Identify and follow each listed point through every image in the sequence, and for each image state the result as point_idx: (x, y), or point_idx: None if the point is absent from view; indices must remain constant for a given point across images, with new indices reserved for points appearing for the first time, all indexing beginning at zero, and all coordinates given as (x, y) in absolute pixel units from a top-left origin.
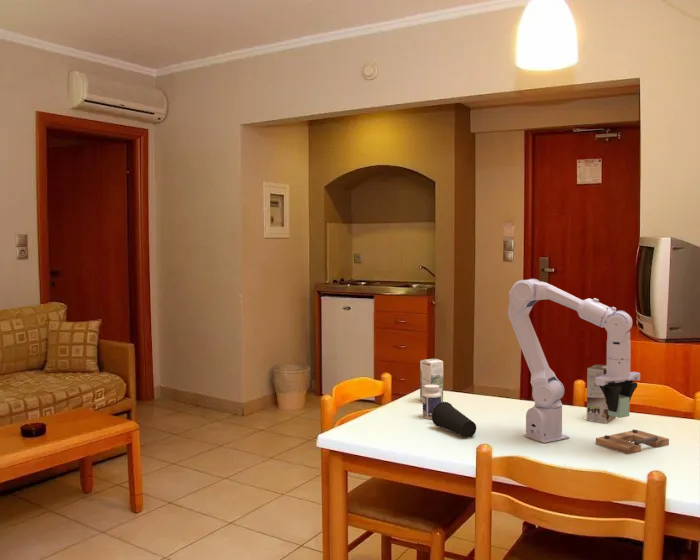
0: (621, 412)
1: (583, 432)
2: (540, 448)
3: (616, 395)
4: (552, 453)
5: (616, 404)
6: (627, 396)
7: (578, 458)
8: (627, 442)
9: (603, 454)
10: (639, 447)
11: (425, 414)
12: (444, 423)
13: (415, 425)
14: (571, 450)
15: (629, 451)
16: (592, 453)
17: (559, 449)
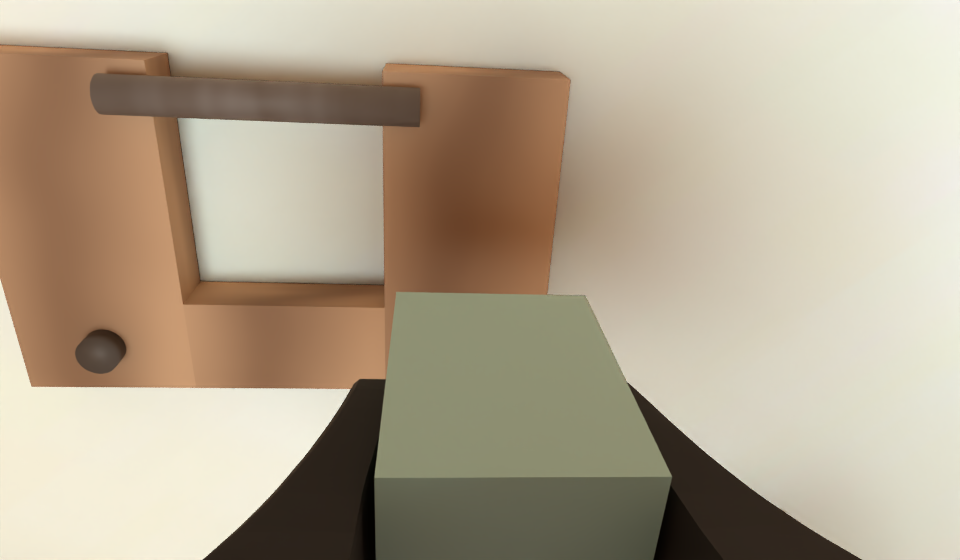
0: (564, 330)
1: None
2: (891, 462)
3: (801, 544)
4: (941, 367)
5: (668, 434)
6: (364, 524)
7: (935, 211)
8: (425, 188)
9: (713, 177)
10: (407, 68)
11: None
12: None
13: None
14: (792, 350)
15: (540, 73)
16: (751, 235)
17: (828, 399)
